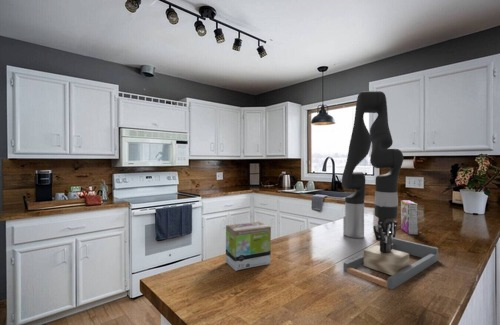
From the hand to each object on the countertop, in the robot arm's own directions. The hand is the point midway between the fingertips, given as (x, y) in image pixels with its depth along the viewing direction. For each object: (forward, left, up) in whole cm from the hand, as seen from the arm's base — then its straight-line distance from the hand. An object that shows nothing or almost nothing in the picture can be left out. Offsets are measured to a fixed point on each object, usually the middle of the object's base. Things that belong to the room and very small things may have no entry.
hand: (385, 250), depth 95 cm
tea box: (-35, -36, -7) cm, 51 cm away
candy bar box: (-16, +59, -7) cm, 61 cm away
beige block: (0, 0, -7) cm, 7 cm away
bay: (0, +5, -7) cm, 8 cm away
